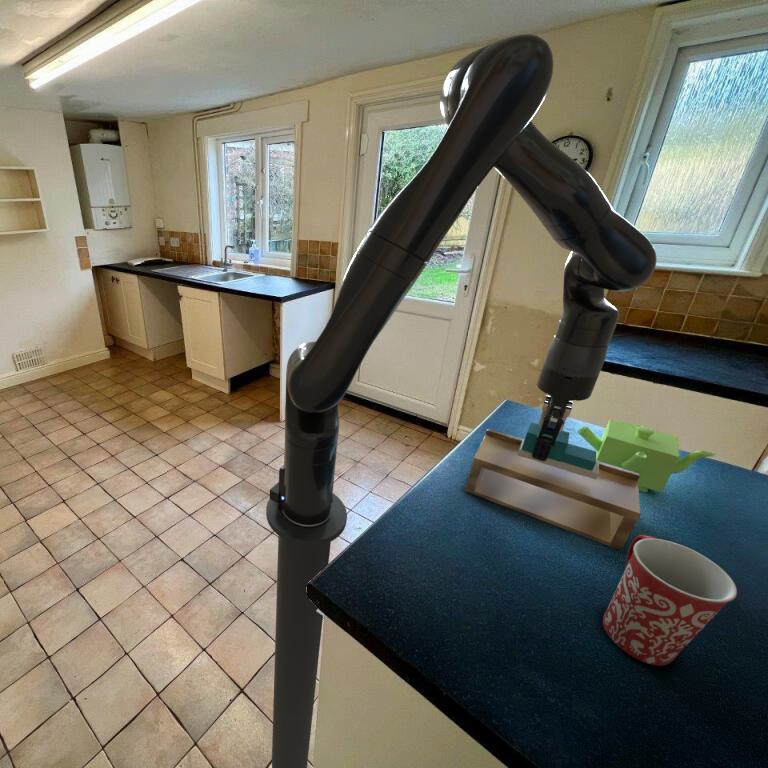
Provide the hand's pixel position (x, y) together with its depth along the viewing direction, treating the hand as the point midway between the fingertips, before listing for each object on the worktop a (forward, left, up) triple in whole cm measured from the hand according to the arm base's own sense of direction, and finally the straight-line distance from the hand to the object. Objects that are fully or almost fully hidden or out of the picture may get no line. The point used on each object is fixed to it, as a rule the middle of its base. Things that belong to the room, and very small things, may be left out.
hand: (540, 451), depth 75 cm
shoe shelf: (+3, 0, -10) cm, 11 cm away
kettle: (+16, +19, -11) cm, 27 cm away
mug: (+16, -21, -11) cm, 28 cm away
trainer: (+3, 0, -1) cm, 3 cm away
